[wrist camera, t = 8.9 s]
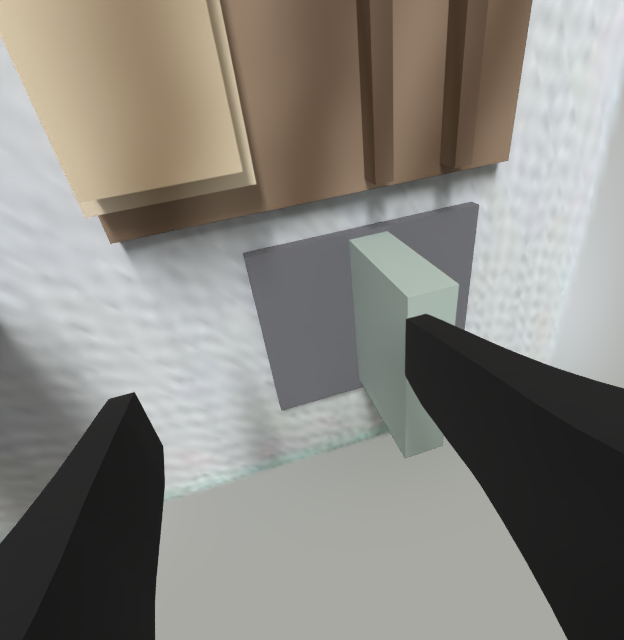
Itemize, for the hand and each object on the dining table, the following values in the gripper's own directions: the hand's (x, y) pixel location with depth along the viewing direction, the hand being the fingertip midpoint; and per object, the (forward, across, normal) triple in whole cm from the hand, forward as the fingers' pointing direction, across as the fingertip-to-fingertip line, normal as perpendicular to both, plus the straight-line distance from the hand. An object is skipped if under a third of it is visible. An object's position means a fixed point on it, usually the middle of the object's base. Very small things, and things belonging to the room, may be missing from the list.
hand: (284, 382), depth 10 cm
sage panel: (+9, -6, +5) cm, 12 cm away
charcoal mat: (+9, -6, +5) cm, 12 cm away
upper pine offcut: (+7, +2, -8) cm, 11 cm away
